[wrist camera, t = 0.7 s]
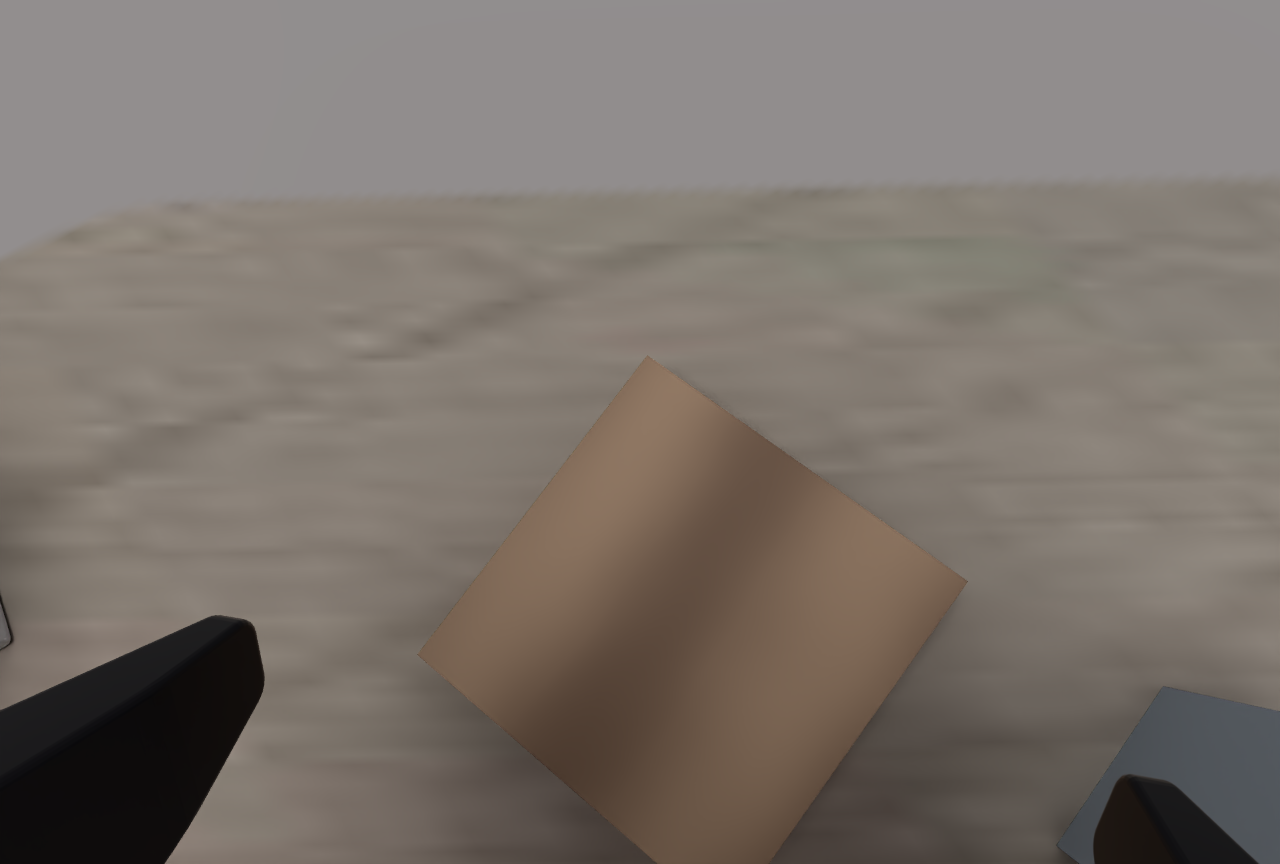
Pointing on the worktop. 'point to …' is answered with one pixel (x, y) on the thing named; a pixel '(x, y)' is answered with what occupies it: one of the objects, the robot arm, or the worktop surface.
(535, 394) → the worktop surface
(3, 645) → the coffee box
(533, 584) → the walnut block
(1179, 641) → the worktop surface
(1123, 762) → the slate block
